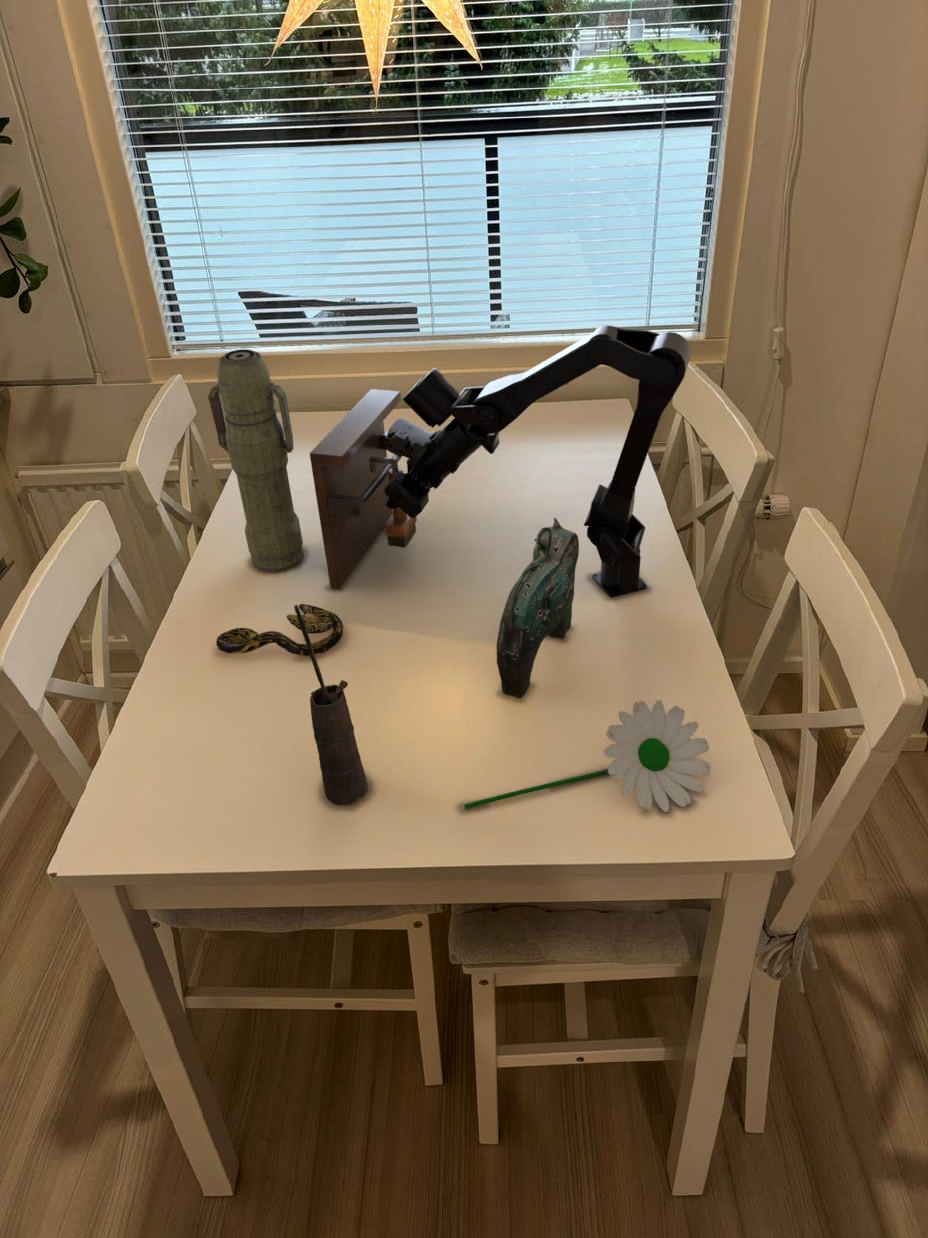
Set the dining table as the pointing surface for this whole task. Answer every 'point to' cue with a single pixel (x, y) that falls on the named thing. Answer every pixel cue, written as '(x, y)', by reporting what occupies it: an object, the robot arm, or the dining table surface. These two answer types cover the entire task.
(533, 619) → the dark green arched piece
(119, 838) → the dining table surface
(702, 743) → the flower
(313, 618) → the toy snake
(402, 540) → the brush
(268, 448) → the thermos
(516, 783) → the dining table surface
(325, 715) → the butter churn
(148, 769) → the dining table surface
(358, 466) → the wall shelf
